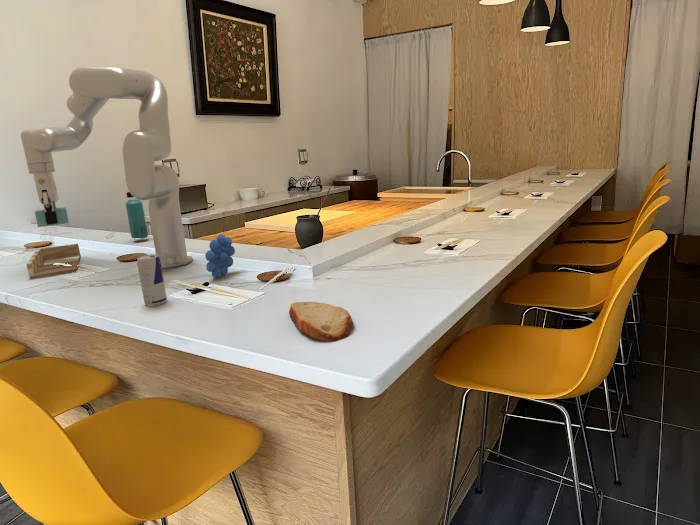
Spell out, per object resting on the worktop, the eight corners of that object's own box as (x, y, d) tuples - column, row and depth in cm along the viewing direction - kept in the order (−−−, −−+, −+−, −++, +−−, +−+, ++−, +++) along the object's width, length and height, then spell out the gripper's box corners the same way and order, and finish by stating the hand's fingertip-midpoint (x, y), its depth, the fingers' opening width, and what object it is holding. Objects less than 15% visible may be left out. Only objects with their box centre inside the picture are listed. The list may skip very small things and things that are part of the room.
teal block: (38, 227, 171) (34, 212, 170) (39, 225, 175) (35, 210, 174) (68, 223, 175) (65, 208, 174) (68, 221, 179) (65, 207, 178)
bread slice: (295, 307, 121) (294, 292, 120) (369, 312, 115) (368, 296, 114) (258, 338, 105) (256, 321, 104) (342, 345, 99) (340, 327, 98)
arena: (76, 272, 166) (73, 257, 165) (30, 279, 161) (26, 264, 160) (80, 256, 188) (78, 243, 186) (40, 262, 183) (36, 249, 181)
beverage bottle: (143, 242, 205) (134, 192, 200) (128, 242, 206) (119, 193, 201) (152, 238, 211) (144, 189, 206) (137, 239, 213) (129, 190, 207)
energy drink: (171, 300, 132) (164, 254, 129) (156, 307, 127) (147, 260, 124) (155, 298, 134) (148, 253, 131) (140, 305, 129) (131, 259, 126)
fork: (254, 292, 136) (253, 285, 135) (287, 269, 154) (286, 263, 153) (265, 292, 135) (264, 285, 134) (297, 269, 153) (296, 263, 152)
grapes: (225, 269, 157) (220, 230, 154) (242, 270, 154) (237, 231, 151) (197, 280, 148) (191, 239, 144) (216, 282, 144) (210, 240, 141)
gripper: (51, 168, 164) (63, 225, 169) (56, 165, 179) (67, 217, 184) (24, 170, 161) (37, 228, 166) (32, 168, 176) (43, 220, 181)
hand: (53, 222), depth 175 cm, fingers closed on teal block, 4 cm apart
